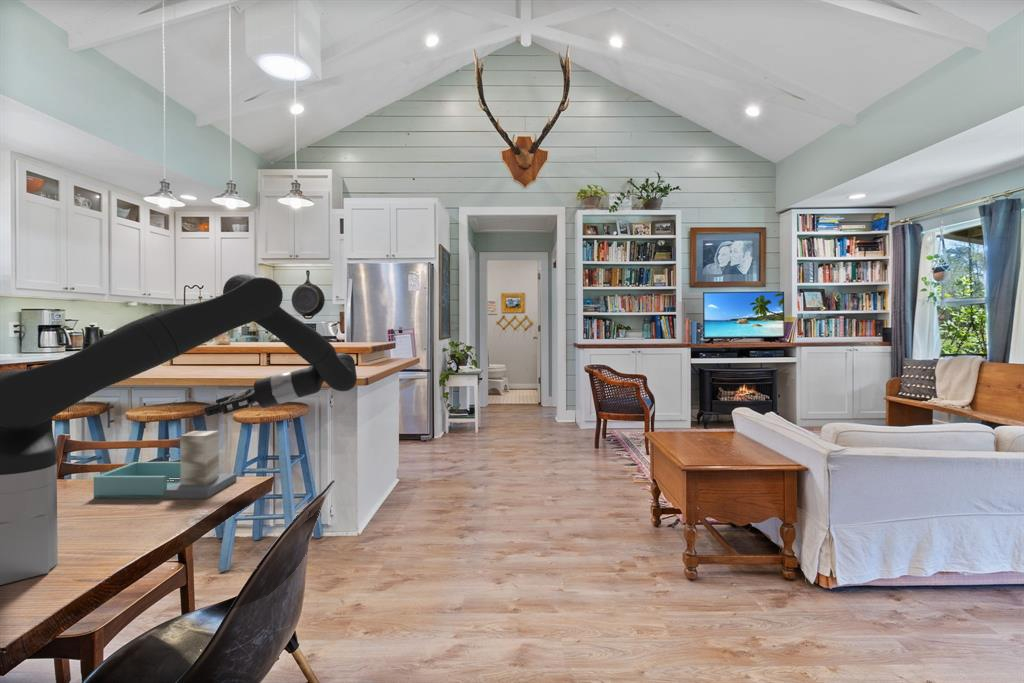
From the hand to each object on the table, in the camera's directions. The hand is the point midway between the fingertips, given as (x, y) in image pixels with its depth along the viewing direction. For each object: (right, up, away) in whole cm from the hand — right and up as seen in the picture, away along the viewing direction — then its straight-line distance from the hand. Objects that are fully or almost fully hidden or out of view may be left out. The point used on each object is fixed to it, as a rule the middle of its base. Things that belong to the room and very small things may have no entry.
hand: (212, 407), depth 130 cm
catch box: (-14, -20, -2) cm, 25 cm away
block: (-2, -18, -2) cm, 18 cm away
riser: (-1, -20, -2) cm, 20 cm away
